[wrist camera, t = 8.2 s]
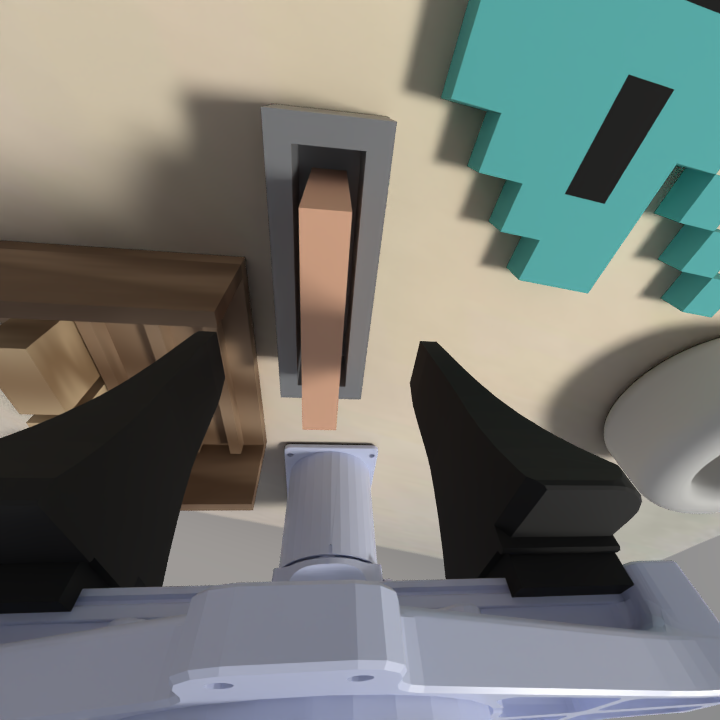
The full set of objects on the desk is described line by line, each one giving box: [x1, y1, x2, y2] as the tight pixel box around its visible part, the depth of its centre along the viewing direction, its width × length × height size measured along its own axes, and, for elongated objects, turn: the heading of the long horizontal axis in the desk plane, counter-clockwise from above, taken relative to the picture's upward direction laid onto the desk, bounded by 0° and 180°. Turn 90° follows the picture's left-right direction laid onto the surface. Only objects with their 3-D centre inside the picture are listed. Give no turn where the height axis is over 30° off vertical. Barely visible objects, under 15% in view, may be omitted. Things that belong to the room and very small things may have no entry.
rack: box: [0, 241, 267, 511], centre depth 21 cm, size 16×13×6 cm
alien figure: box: [441, 0, 720, 317], centre depth 14 cm, size 20×2×20 cm
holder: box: [261, 104, 397, 399], centre depth 18 cm, size 14×5×4 cm, turn 175°
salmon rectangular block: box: [299, 168, 352, 430], centre depth 16 cm, size 10×2×7 cm, turn 175°
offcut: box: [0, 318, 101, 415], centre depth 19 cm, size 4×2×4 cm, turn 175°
